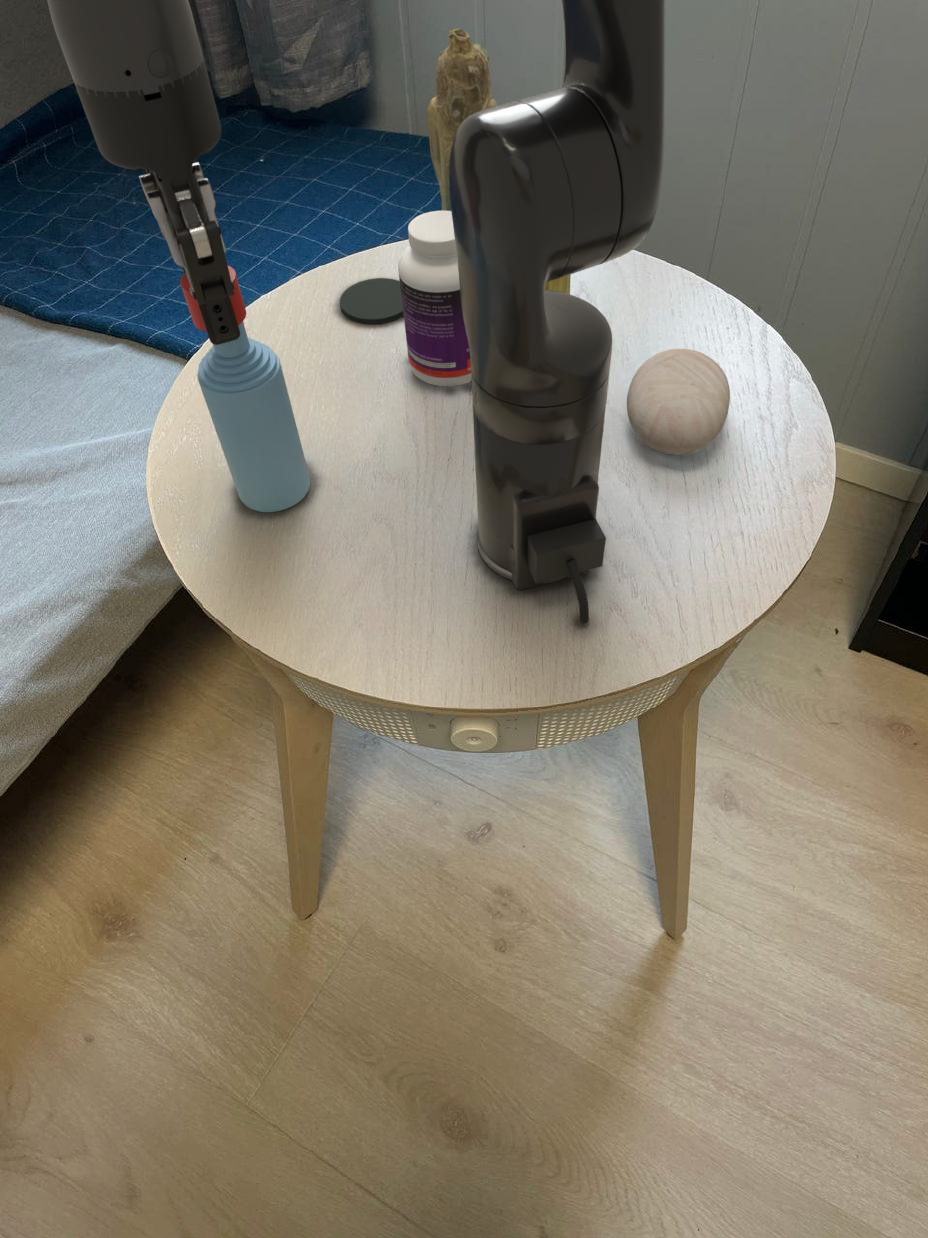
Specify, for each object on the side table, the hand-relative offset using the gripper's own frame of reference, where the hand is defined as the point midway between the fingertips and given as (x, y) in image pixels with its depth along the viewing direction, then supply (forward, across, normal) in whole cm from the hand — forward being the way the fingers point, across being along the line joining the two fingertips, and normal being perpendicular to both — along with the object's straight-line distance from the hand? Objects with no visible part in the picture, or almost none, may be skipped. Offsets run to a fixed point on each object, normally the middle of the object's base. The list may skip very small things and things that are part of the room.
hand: (218, 323), depth 63 cm
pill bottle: (+17, -9, +21) cm, 28 cm away
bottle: (+17, 0, 0) cm, 17 cm away
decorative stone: (+17, +8, +36) cm, 41 cm away
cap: (0, 0, 0) cm, 0 cm away
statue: (+17, -21, +29) cm, 39 cm away
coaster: (+16, -23, +19) cm, 34 cm away
